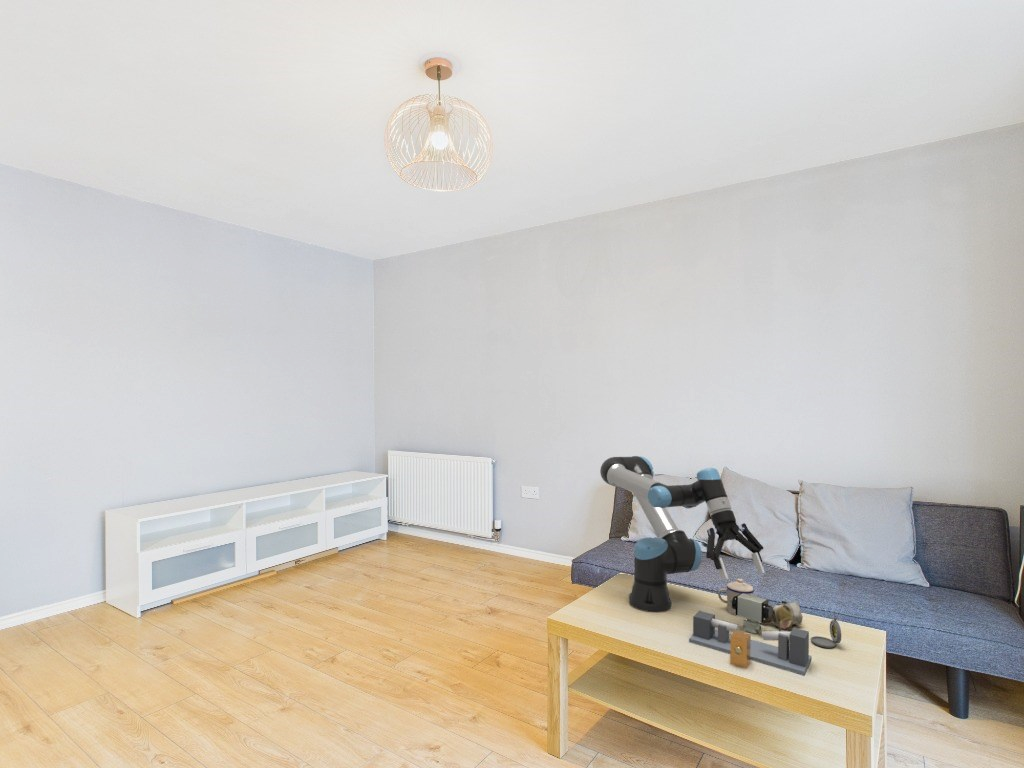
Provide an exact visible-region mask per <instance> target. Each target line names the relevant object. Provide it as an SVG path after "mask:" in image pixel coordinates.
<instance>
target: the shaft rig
mask: <svg viewBox="0 0 1024 768" xmlns="http://www.w3.org/2000/svg"><path fill="white" fill-rule="evenodd" d="M692 620H693V621H692V635H691V636H690V637H688V643H692V644H695V645H699V646H702V647H706V648H709V649H712V650H717V651H719V652H723V653H726V654H729V655H730V638H731V634H732V633H733V632H734V631H739V625H738V624H736V623H732V622H729V621H725V620H720V619H716V614H714V613H710V612H706V611H702V610H698V612H696V613H695V614H694V615H693V617H692ZM730 632H731V633H730ZM809 633H810V631H809V630H805V629H800V628H797V627H792V629H791V631H789V630H788V631H784V630H780V631H776V630H775V631H771V630H770V631H769V630H766V631H765V630H764V631H763V630H761V637H762V640H763V641H777V646H776V645H772V644H769V643H764V642H762V641H757V640H754V639H751V647H750V661H754V662H756V663H761V664H765V665H768V666H770V667H774V668H776V669H781V670H785V671H788V672H792V673H795V674H798V675H802V676H805V675H806V672H807V670H808V668H809V666H810V663H811V661H812V655H809V654H810V652H809V651H810V650H809V649H810V645H809V644H810V641H809V640H810V639H809V638H810V636H809V635H810V634H809Z"/></svg>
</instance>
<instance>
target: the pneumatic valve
mask: <svg viewBox="0 0 1024 768" xmlns="http://www.w3.org/2000/svg"><path fill="white" fill-rule="evenodd" d="M769 601H770V600H769V599H767V598H763V597H759V596H756V595H755V594H753V595H752V594H751V595H748V594H744V593H740V594H738V595H737V596H734V597H733V599H732V608H733V609H735V612H736V615H735V616H737V615H738V616H737V617H741V618H745V619H744V620H743V621H742V628H743V630H744V631H745V632H747V633H749V634H754V635H756V634H757V633H760V632H761V633H762V625H761V624H760V623H762V624H764V623H765V621H767V620H768V619H769V620H771V618H772V616H773V607H772V606H773V605H771V604H770V602H769Z"/></svg>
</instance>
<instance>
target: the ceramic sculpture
mask: <svg viewBox="0 0 1024 768" xmlns="http://www.w3.org/2000/svg"><path fill="white" fill-rule="evenodd" d="M771 606H772V607H773V616H772V618H771V620H769V619H768V620H767V621H765V622H764V623H767V624H769V623H771V622H772V623H773V625H774V626H776V627H778V628H779V630H780V631H781V630H784V631H788V632H789V631H790V629H791V628H792V626H800V625H801V624H802V622H803V617H804V616H803V613H802V609H801V607H800V604H799V602H798V601H794V602H787V601H785V600H782V601H781V602H779V603H778V604H775V605H771Z"/></svg>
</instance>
